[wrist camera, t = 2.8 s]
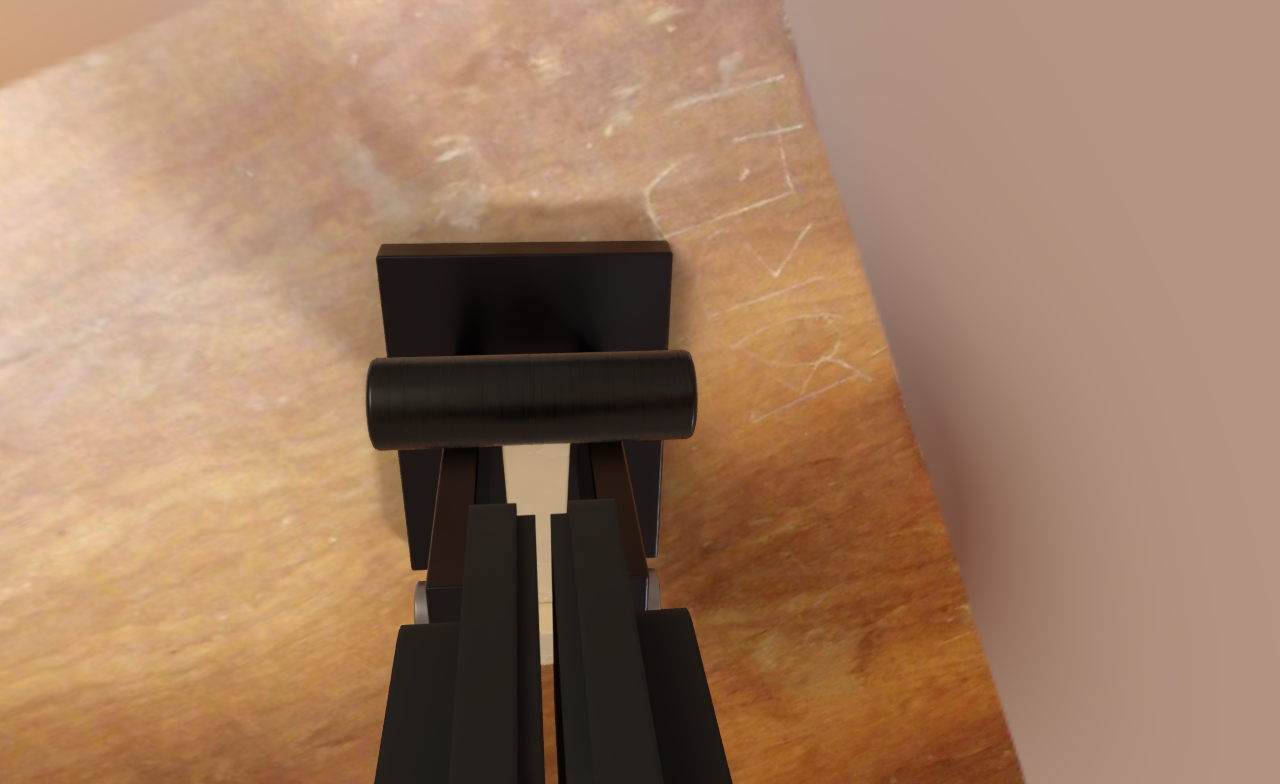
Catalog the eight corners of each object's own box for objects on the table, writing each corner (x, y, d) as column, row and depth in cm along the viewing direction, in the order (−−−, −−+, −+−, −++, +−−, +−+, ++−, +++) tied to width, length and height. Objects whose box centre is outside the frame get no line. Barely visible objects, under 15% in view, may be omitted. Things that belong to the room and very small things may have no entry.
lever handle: (369, 314, 14) (359, 451, 13) (687, 307, 15) (706, 438, 14) (444, 581, 24) (442, 672, 23) (629, 571, 25) (637, 659, 24)
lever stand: (380, 243, 28) (305, 445, 18) (667, 239, 29) (751, 428, 19) (414, 550, 34) (372, 837, 24) (653, 538, 35) (712, 806, 25)
